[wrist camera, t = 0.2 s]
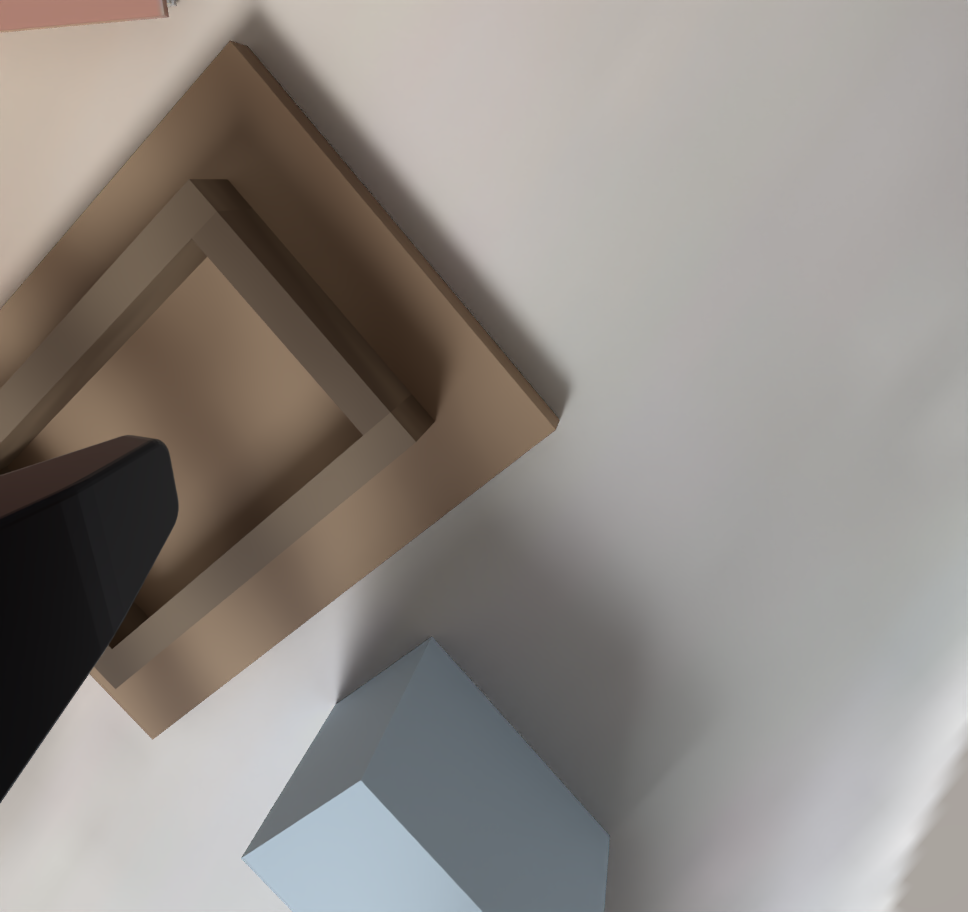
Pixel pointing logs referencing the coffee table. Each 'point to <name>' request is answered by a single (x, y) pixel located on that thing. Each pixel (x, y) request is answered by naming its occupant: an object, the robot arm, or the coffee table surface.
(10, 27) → the notebook
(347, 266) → the keyed nest
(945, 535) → the coffee table surface
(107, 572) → the robot arm
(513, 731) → the key block
